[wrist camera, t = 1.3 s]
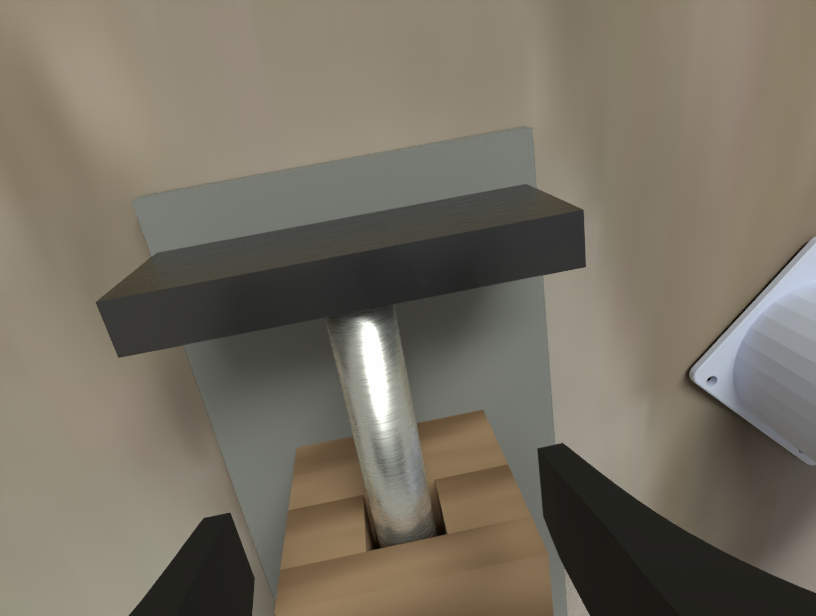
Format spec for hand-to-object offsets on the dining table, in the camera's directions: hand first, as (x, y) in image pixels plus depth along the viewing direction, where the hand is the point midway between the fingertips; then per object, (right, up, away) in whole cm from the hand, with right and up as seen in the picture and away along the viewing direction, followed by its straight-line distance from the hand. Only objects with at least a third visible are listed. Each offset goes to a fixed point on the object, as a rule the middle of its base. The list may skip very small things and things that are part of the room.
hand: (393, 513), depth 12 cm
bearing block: (0, -3, +11) cm, 12 cm away
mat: (0, -3, +12) cm, 13 cm away
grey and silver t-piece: (0, -2, +9) cm, 9 cm away
